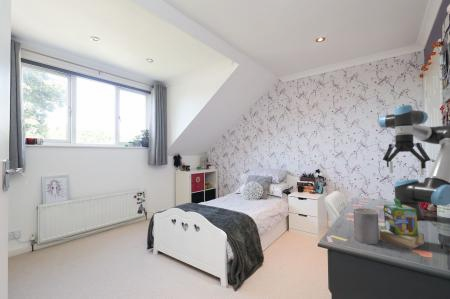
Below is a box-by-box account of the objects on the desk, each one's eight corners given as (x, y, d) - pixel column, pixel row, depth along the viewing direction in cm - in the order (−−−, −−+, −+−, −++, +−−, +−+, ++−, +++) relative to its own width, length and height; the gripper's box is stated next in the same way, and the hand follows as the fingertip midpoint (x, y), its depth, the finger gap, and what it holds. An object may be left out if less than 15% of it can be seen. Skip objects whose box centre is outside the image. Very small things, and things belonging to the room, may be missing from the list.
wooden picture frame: (393, 234, 108) (392, 226, 108) (424, 243, 97) (423, 233, 97) (379, 239, 102) (379, 230, 102) (411, 249, 91) (410, 239, 91)
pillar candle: (358, 235, 108) (357, 204, 108) (382, 240, 101) (380, 207, 101) (351, 240, 102) (349, 208, 102) (376, 247, 94) (374, 212, 94)
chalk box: (418, 236, 94) (417, 201, 95) (394, 234, 96) (393, 201, 96) (405, 228, 103) (404, 197, 104) (383, 228, 105) (382, 197, 106)
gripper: (375, 136, 127) (376, 172, 126) (431, 131, 105) (432, 176, 104) (382, 136, 130) (383, 172, 130) (437, 132, 108) (439, 175, 108)
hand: (405, 174), depth 117 cm, fingers open, 13 cm apart
